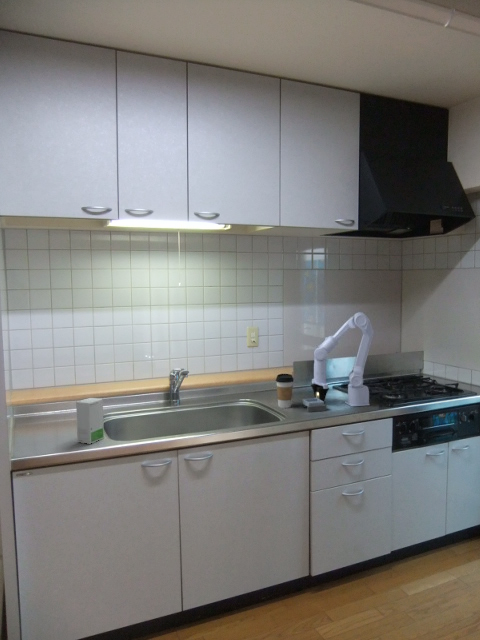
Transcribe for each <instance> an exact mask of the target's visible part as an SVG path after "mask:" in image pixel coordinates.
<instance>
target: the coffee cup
mask: <svg viewBox="0 0 480 640" xmlns="http://www.w3.org/2000/svg"><path fill="white" fill-rule="evenodd" d="M293 377H294V376H293V375H292V374H290V373H280V374H277V375H276V379H275V382H276V395H277V405H278V408H282V409H287V408H291V406H292V396H293V387H294V386H293V383H294V378H293Z"/></svg>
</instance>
